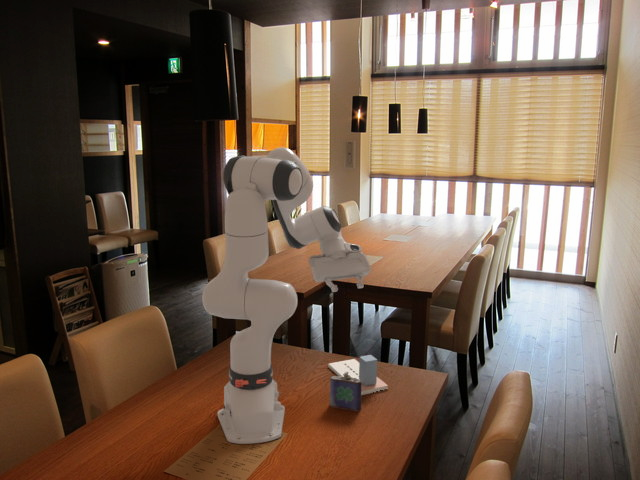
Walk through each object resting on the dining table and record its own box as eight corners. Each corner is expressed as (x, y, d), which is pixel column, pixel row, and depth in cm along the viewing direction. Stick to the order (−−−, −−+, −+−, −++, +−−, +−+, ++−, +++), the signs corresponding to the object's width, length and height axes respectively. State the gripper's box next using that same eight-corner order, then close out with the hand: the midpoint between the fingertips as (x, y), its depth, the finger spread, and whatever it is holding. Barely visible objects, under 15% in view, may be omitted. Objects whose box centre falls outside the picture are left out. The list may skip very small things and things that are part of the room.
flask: (328, 407, 155) (329, 372, 153) (331, 402, 157) (332, 368, 155) (360, 412, 152) (361, 377, 150) (362, 407, 155) (363, 372, 153)
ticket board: (387, 389, 166) (388, 385, 165) (359, 395, 162) (359, 391, 161) (354, 362, 185) (354, 358, 185) (328, 366, 181) (328, 363, 181)
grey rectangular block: (376, 383, 166) (377, 359, 164) (365, 386, 164) (365, 361, 163) (370, 378, 169) (370, 354, 168) (358, 380, 168) (359, 356, 166)
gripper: (309, 251, 173) (322, 288, 167) (365, 245, 181) (378, 281, 175) (304, 261, 178) (316, 297, 172) (358, 255, 186) (371, 290, 180)
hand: (348, 289), depth 173 cm, fingers open, 8 cm apart
